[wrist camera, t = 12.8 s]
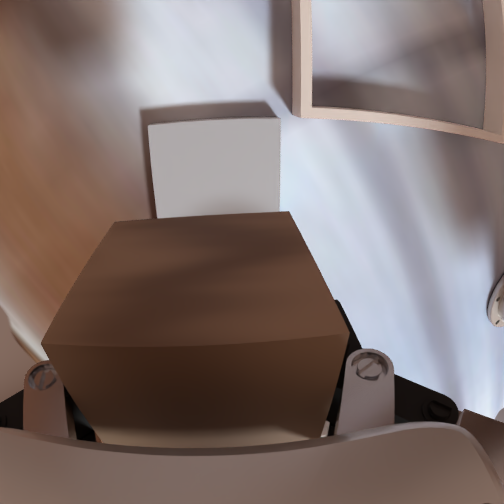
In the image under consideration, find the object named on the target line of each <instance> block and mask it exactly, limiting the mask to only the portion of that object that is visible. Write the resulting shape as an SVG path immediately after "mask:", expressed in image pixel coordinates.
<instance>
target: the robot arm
mask: <svg viewBox="0 0 504 504" xmlns="http://www.w3.org/2000/svg"><path fill="white" fill-rule="evenodd" d="M334 301H335V303H336V305H337V307H338V309H339V311H340V313H341V315H342V317H343V319H344V322H345V324H346V326H347V328H348V330H349V332H350V334H349V338H348V342H347V346H346V350H345V354H344V358H343V362H342V366H341V370H340V374H339V377H338V381H337V385H336V388H335V392H334V395H333V399H332V402H331V405H330V409H329V412H328V415H327V419H326V421H328V427H327V433H326V437H322V438H315V439H309V440H302V441H294V442H286V443H277V444H268V445H256V446H242V447H223V448H160V447H141V446H127V445H116V444H106V443H101V439H100V438H99V436H98V435H97V434H96V432H95V431H94V430H93V428H92V427H91V425H90V424H89V423H88V421H87V420H86V418H85V417H84V415H83V414H82V412H81V411H80V409H79V408H78V406H77V405H76V403H75V402H74V400H73V399H72V397H71V395H70V394H69V392H68V391H67V389H66V387H65V386H64V384H63V382H62V381H61V379H60V377H59V376H58V374H57V372H56V371H55V369H54V367H53V365H52V363H51V362H50V360H47V361H41V362H39V363H37V364H35V365H34V366H32V367H31V368H30V369H29V370H28V372H27V374H26V375H25V379H24V389H23V390H22V391H20V392H18V393H16V394H15V395H13V396H11V397H10V398H8V399H6V400H4V401H3V402H1V403H0V504H504V423H503V422H500V421H497V420H494V419H491V418H488V417H486V416H483V415H480V414H477V413H475V412H472V411H469V410H467V409H464V410H463V411H462V412H461V411H459V410H458V408H457V406H456V404H455V402H454V401H453V400H451V399H450V398H449V397H447V396H445V395H443V394H441V393H438V392H436V391H433V390H431V389H429V388H426V387H424V386H421V385H419V384H417V383H414V382H412V381H409V380H407V379H405V378H402V377H400V376H398V375H395V374H394V367H393V363H392V361H391V360H390V358H389V357H388V356H387V355H385V354H384V353H382V352H380V351H378V350H375V349H362V347H361V345H360V343H359V341H358V339H357V336H356V334H355V332H354V330H353V328H352V326H351V324H350V322H349V320H348V318H347V316H346V314H345V312H344V310H343V308H342V306H341V304H340V302H339V301H338V300H334ZM488 318H489V320H490V322H491V323H492V324H493V325H494V326H496V327H503V326H504V275H503V276H502V278H501V279H500V281H499V282H498V284H497V286H496V288H495V290H494V291H493V294H492V296H491V299H490V302H489V306H488Z"/></svg>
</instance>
